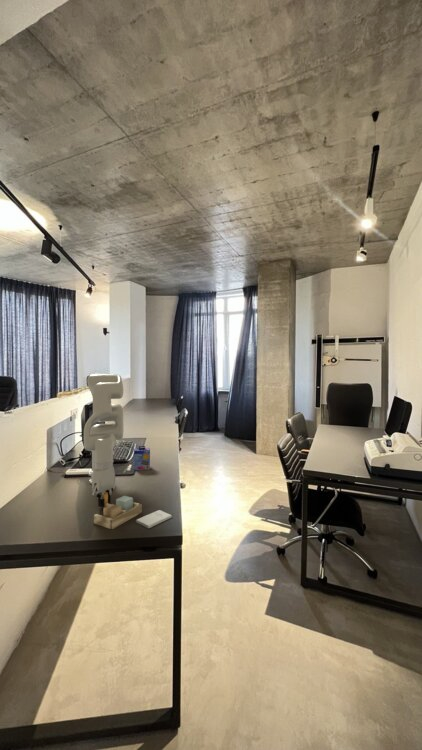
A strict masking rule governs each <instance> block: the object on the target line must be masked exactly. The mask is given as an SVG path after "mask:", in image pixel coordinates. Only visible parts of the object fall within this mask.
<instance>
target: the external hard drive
mask: <svg viewBox="0 0 422 750" xmlns="http://www.w3.org/2000/svg"><path fill="white" fill-rule="evenodd" d="M172 517H173V516H172V514H169V513H167V512H165V511H163V510H161V509H158V510H156V511H153V512H151V513H149V514H147V515H144V516H142V517H139V518H137V519H135V523H136V524H138V525H141V526H143V527H144V528H147V529H150V528H153V527H154V526H156V525H159V524H161V523H163V522H165V521H167V520H169V519H171V518H172Z"/></svg>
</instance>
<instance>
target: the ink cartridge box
mask: <svg viewBox="0 0 422 750" xmlns="http://www.w3.org/2000/svg"><path fill="white" fill-rule="evenodd" d="M140 470H141V471H142V470H151V449H150V447H146V445H139V446H138V448H134V449H133V471H140Z"/></svg>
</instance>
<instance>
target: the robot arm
mask: <svg viewBox="0 0 422 750" xmlns="http://www.w3.org/2000/svg"><path fill="white" fill-rule="evenodd" d="M86 380H87V386H88V389H89V391H90V393H91V396H92V397H91V398H92V414H91V416H89V418H88V419H87V421H86V422H85V425H84V428H83V448H84V450H85V451H88V452H91V453H92V454H91V464H92V466H91V467H92V468H91V471H90V472H89V473H88V476H90V479H89V481H88V482H89V484H91V492H92V494H91V495H92V496H93V497H96V498H97V505H98V506H97V507H99V508H101V507H102V509H104V508H103V507H104V498H103V494H104V492H108V504H112V502H111V496H112V494H113V491H114V489H115V488H116V487H117V486H116V485H117V484H116V473H115V468H114V462H115V461H114V452H113V451H114V450H113V449H114V448H115V446H116V444H117V441H120V440H122V439H123V437H124V409H123V406H122V405H121V404H118V403H112V400H119V399H122V398H123V396H124V384H123V383H124V382H123V378H122V376H121V375H120V374H118V373H114V374H112V373H95V374H90V375H88V377H87V379H86ZM97 422H98V423H99V424H95V423H97ZM103 422H104V423H103ZM106 422H108V423H106ZM109 422H112V423H109ZM113 422H114V423H113Z"/></svg>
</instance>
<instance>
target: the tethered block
mask: <svg viewBox="0 0 422 750" xmlns="http://www.w3.org/2000/svg"><path fill="white" fill-rule="evenodd" d="M103 498H104V507H103V508H102V507H100V508H102V509H104V508H106V507H108V506H110V505H112V504H113V503H111V504H108V492H105V491H104V494H103ZM133 502H134V498H133V497H132V496H127V495H122V496H120V497H118V498H116V499H115V505H117V506H121V510H125V511H127V510H129V509H131V508H133Z"/></svg>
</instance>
